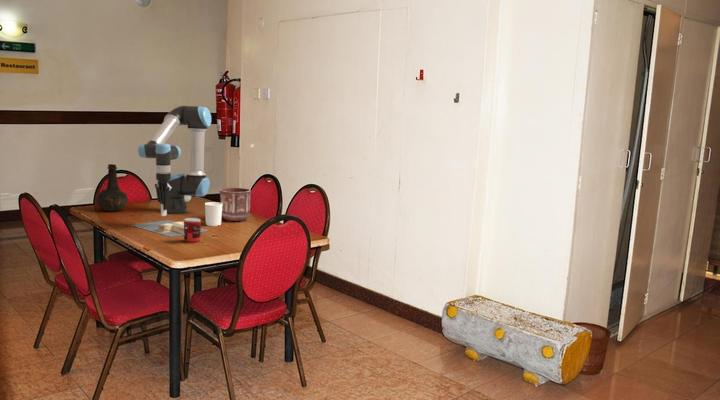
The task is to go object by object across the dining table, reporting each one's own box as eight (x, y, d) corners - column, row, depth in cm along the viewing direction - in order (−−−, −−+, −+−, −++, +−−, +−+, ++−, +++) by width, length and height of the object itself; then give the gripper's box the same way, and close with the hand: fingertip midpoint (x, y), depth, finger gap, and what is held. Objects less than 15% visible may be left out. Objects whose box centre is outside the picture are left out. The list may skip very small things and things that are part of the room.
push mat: (169, 220, 350) (169, 219, 350) (209, 230, 328) (209, 230, 328) (131, 225, 331) (131, 225, 331) (170, 237, 309) (170, 236, 309)
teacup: (186, 204, 403) (186, 192, 402) (171, 202, 405) (171, 190, 404) (196, 201, 417) (196, 189, 415) (181, 199, 419) (181, 188, 417)
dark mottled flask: (111, 206, 381) (111, 161, 376) (134, 209, 375) (134, 164, 370) (89, 210, 364) (88, 164, 360) (113, 214, 358) (112, 166, 354)
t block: (184, 226, 335) (184, 221, 334) (201, 231, 326) (201, 225, 325) (158, 230, 322) (158, 224, 322) (175, 235, 313) (175, 229, 313)
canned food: (185, 239, 307) (185, 217, 305) (201, 239, 308) (201, 218, 306) (182, 242, 299) (182, 220, 298) (199, 243, 300) (199, 221, 298)
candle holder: (225, 224, 347) (226, 203, 345) (216, 227, 338) (216, 205, 336) (210, 222, 350) (211, 201, 349) (200, 225, 341) (201, 203, 339)
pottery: (230, 215, 372) (230, 186, 369) (255, 219, 366) (256, 189, 362) (213, 220, 355) (213, 190, 352) (239, 224, 349) (240, 193, 346)
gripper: (150, 171, 330) (150, 214, 334) (164, 174, 322) (165, 218, 326) (162, 170, 335) (162, 212, 340) (176, 173, 328) (177, 216, 332)
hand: (163, 215), depth 333 cm, fingers closed
